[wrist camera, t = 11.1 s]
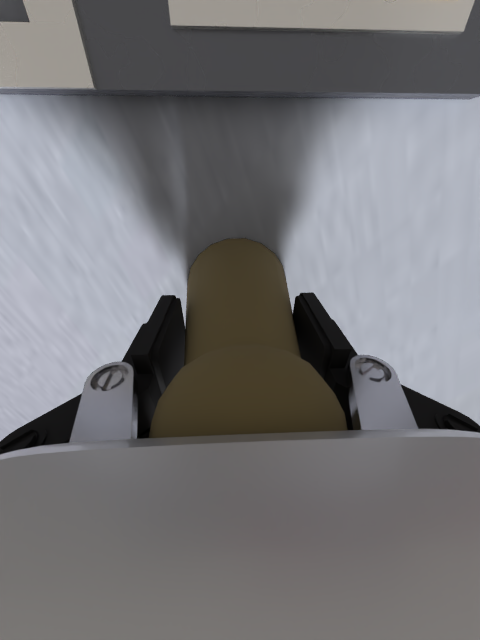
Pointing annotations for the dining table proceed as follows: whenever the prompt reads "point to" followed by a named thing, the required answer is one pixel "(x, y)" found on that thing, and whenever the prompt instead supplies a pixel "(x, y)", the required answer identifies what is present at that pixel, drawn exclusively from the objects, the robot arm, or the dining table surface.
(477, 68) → the panel
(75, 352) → the dining table surface
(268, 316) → the cork
